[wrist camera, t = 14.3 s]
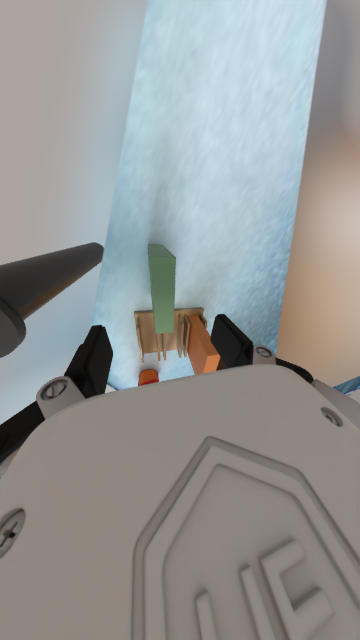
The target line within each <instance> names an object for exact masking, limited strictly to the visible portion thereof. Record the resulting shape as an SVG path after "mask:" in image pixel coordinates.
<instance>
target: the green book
mask: <svg viewBox="0 0 360 640" xmlns="http://www.w3.org/2000/svg"><path fill="white" fill-rule="evenodd" d="M148 254H149V268H150V282H151V296H152V306H153V316H154V327H155V334H161V333H171V332H173V327H174V297H175V266H176V257H175V256H174V255H173V254H172V253H171V252H169V251H168V250H167V249H166V248H165V247H164V246H163V245H150V244H148Z"/></svg>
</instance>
